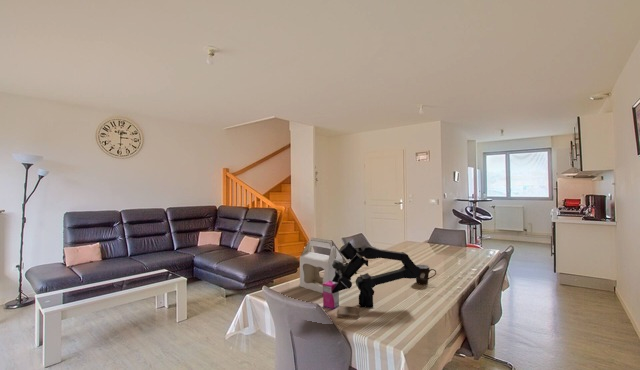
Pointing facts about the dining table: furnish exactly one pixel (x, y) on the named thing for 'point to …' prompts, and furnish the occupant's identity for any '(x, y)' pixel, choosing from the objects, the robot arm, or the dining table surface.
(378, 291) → the dining table surface
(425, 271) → the coffee mug
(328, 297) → the supplement box
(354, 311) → the walnut riser
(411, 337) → the dining table surface
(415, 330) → the dining table surface
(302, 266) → the gable box
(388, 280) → the robot arm
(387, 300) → the dining table surface
